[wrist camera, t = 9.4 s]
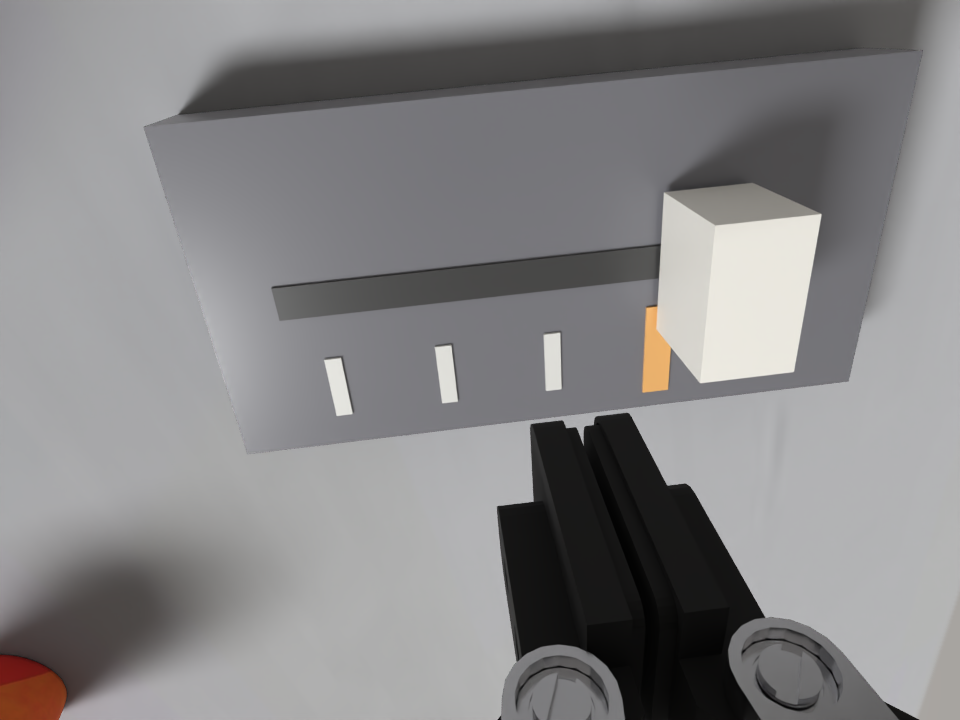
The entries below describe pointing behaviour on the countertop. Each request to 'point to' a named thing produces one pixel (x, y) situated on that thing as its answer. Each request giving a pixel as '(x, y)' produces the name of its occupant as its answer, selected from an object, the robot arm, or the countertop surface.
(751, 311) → the fader knob
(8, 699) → the paper cup
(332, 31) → the countertop surface
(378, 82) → the countertop surface
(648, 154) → the fader console
